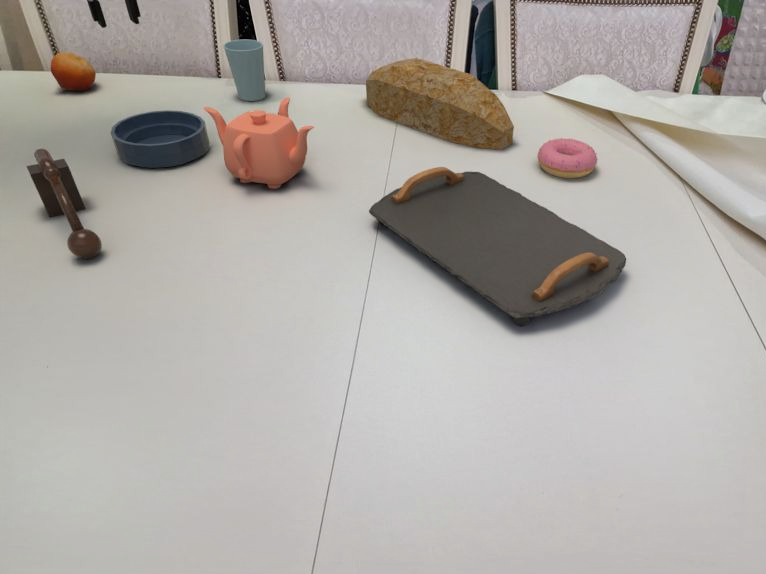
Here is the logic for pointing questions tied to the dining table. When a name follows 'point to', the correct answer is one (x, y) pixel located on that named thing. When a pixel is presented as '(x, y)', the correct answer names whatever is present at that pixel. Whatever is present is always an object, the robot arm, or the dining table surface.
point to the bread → (440, 103)
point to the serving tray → (500, 242)
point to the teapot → (262, 145)
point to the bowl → (160, 138)
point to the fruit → (72, 72)
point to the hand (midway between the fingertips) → (118, 22)
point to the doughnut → (567, 158)
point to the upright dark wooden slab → (48, 192)
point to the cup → (247, 68)
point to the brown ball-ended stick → (68, 210)
